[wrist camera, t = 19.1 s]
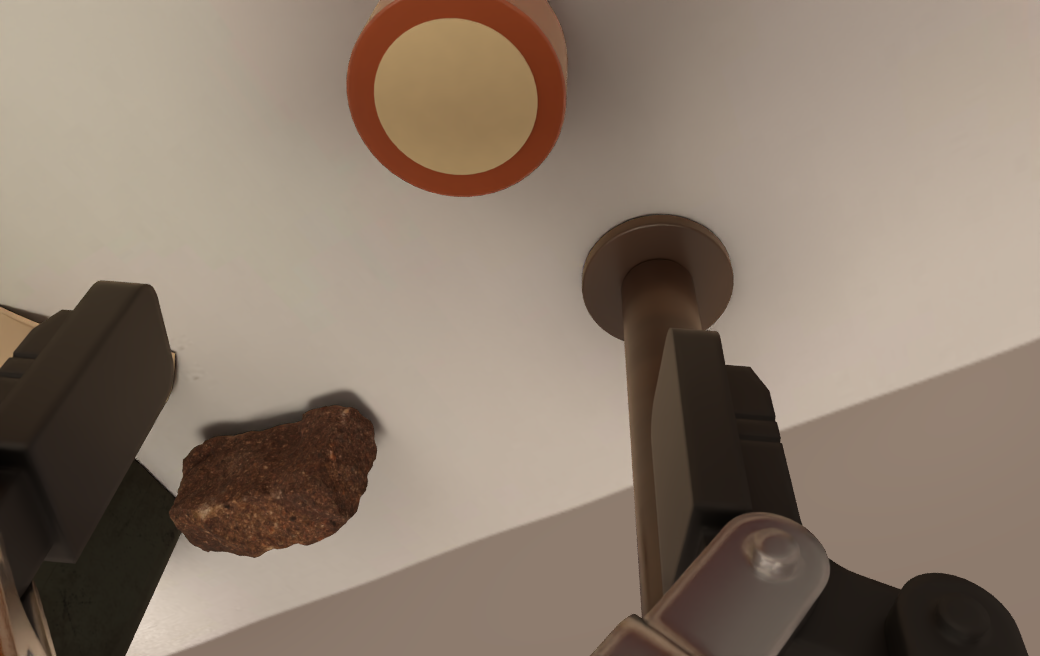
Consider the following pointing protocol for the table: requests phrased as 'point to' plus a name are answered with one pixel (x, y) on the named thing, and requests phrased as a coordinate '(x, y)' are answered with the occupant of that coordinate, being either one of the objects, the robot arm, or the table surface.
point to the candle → (111, 572)
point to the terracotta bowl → (459, 91)
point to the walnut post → (653, 333)
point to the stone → (276, 483)
